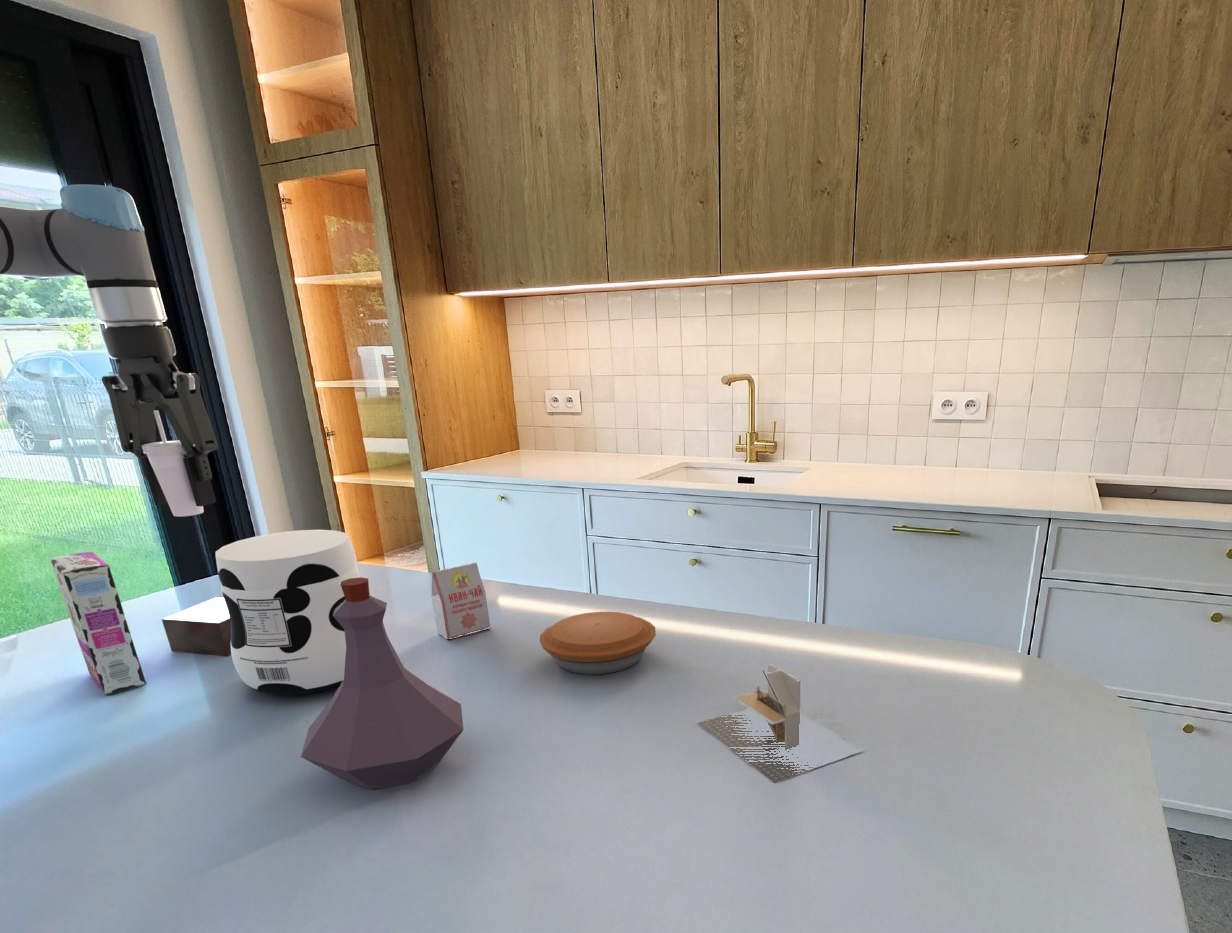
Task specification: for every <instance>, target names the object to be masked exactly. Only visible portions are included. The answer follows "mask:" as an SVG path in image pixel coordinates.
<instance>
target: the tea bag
mask: <svg viewBox="0 0 1232 933" xmlns="http://www.w3.org/2000/svg"><path fill="white" fill-rule="evenodd" d="M478 566H479V565H478V563H477V562H471V563H467V564H462V565H458V566H453V567H448V568H443V569H439V570H434V571H431V594H430V595H431V597H430V598H431V603H432V608H433V615H434V619H435V626H436V632H437V634H438V633H439V634H440V635H442V636H443V637H445V638H447V639H449V638H454V637H457V636H459V635H465V634H467V633H470V632H474V631H478V630H483V629H485V628H488V627H490V628H491V623H490V616H489V608H488V601H487V593H486V590H485V586H484V583H483V580H482V577H481V574H480V571H479V567H478ZM440 635H439V636H440ZM443 637H442V638H443Z"/></svg>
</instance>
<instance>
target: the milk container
mask: <svg viewBox="0 0 1232 933" xmlns="http://www.w3.org/2000/svg"><path fill="white" fill-rule="evenodd" d="M215 560H216V561H215V562H216V568H217V575H218V578H219V582H220V589H221V590H220V591H221V593H222V596H223V597H222V598H224V600H225V603H226V606H227V609H228V613H229V616H230V621H231V655H230V656H231V659H232V662H233V665H234V667H235V668H234V669H235V670H236V672H237V674H238V675H239V678H240V679H241V681H242V682H243V683H244V684H245V685H246V686H247V687H249V688H250V689H252V690H254V691H256V692H259V693H262V694H268V695H270V694H271V695H275V696H288V695H303V694H304V695H305V694H310V693H315V692H322V691H325V690H328V689H332V688H336V687H339V686H340V684H341V683H342V681H343V680H344V671H345V657H346V640H345V631H344V628H343V627H342V626H341V625H340V624H339V622H338V621H337V620H336V619H335V618H334V617H333V613H334V610H335V609H336V608H337V607H338V606H339V605H340V604H341V603H342V602H343V601H344V600H345V596H344V593H343V590H342V587H341V585H340V584H341V581H344V580H347V579H351V578H360V571H359V567H358V566H357V564H358V563H357V556H356V552H355V549H354V546H353V543H352V540H351V538H350V536H349V535H348V534H347V532H343V531H340V530H335V529H333V530H332V529H299V530H289V531H288V530H287V531H280V532H273V533H266V534H262V535H256V536H252V537H248V538H244V539H240V540H237V541H233V542H231V543H228V544H225V545H223V546H221V547H220V548H219V549H217V550H216V551H215Z"/></svg>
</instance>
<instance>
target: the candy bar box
mask: <svg viewBox="0 0 1232 933" xmlns="http://www.w3.org/2000/svg"><path fill="white" fill-rule="evenodd" d="M49 561H50V564H51V566H52V569H53V573H54V575H55V577H56V580H57V584H58V587H59V591H60V593H61V596H62V599H63V601H64V604H65V608H66V611H67V613H68V616H69V619H70V621H71V625H72V628H73V630H74V633H75V636H76V637H75V638H76V639H77V643H78V645H79V648H80V651H81V654H82V657H83V660H84V662H85V665H86V667H87V671H88V673H89V675H90V677H91V678H92V679H93V680H94V682H95V684H97V686H98V687H99V689H100V691H101V692H102V694H103V695H104V696H109V695H112V694H116V693H120V692H123V691H124V692H125V691H128V690H132V689H136V688H139V687H142V686H146V685H147V681H146V678H145V675H144V672H143V669H142V666H141V663H140V662H141V661H140V659H139V657H138V654H137V651H136V647H135V644H134V641H133V640H134V639H133V637H132V634H131V631H130V628H129V625H128V621H127V617H126V614H125V612H124V609H123V605H122V601H121V599H120V596H119V593H118V590H117V586H116V583H115V580H114V577H113V574H112V571H111V567H110V565H109V564H108V563H107V562H106V561H104V560H103V559H102V558H100V556H98V555H97V554H95V552H93V551H85V552H77V553H72V554H64V555H60V556H54V557H50V558H49Z"/></svg>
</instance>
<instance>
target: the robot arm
mask: <svg viewBox="0 0 1232 933" xmlns="http://www.w3.org/2000/svg"><path fill="white" fill-rule="evenodd" d="M59 197H60V200H61V203H60V206H61V208H53V209H22V208H15V207H7V206H0V276H7V277H11V278H15V279H23V280H39V281H47V280H50V279H56V278H57V279H58V278H59V279H60V278H69V277H70V278H71V277H84V279H85V283H86V287H87V288H88V289H87V290H88V293H89V297H90V300H91V303H92V307H93V311H94V314H95V317H96V321H97V322H99V323H100V324H104V327H105V328H104V327H103V328H102V330H101V331H100V332H101V335H102V339H103V342H104V346H105V349H106V352H107V355H108V357H109V358H111V359H113V360H116V362H117V373H115V374H113V375H103V376H102V377H101V382H102V384H103V386H104V388H105V390H106V392H107V394H108V397H109V400H110V406H111V409H112V413H113V414H112V415H113V417H114V422H115V426H116V429H117V430H116V431H117V434H118V438H119V442H120V447H121V450H122V451H123V452H124V453H131V454H134V456H135V457H136V458H138V461H139V464H140V467H141V471H142V474H143V477H144V478H145V480H146V481H147V482H148V486H149V490H150V493H151V496H152V499H153V502H154V505H155V506H163V505H167V504H168V502H167V500H166V497H165V495H164V493H163V491H162V488H161V486H160V484H159V481H158V479H157V477H156V475H155V472H154V470H153V468H152V466H151V463H150V461H149V459H148V456H147V454H145V453H143V449H142V445H144V444H149V443H155V442H157V437H156V435H157V434H156V418H155V415H154V410H156V408H157V407H158V408H159V409H161V410H162V411H163V413H164V415H165V416H166V418H167V420H168V422H169V424H170V425H171V427H172V429H173V431H174V433H175V435H176V437H177V439H178V440H180V442H181V444H182V446H183V448H184V449H185V451H186V454H184V455H183V457H185V458H183V461H184V464H185V468H186V471H187V475H188V478H189V482H190V485H191V489H192V492H193V496H194V500H195V503H196V506H203V507H204V506H209V505H211V504H212V505H213V504H215V503H217V500H216V496H215V491H214V489H213V485H212V481H211V480H212V479H213V473H212V471H211V466H210V463H209V459H208V454H209V453H211V452H213V451H216V450H218V448H219V445H218V442H217V439H216V435H215V433H214V430H213V426H212V424H211V421H210V417H209V414H208V411H207V409H206V405H205V403H204V402H205V401H204V400H203V396H202V394H201V384H200V376H199V375H198V374H197V373H195V372H190V373H185V372H183V371H179V368H178V367H177V365H176V364H175V362H174V360H173V358H174V357H175V356H176V354H177V350H176V346H175V342H174V338H173V335H172V332H171V329H170V328H168V326H164V323H163V322H166V321H167V320H168V317H167V314H166V311H165V306H164V303H163V299H162V296H161V291H160V289H159V284H158V282H157V279H156V275H155V271H154V268H153V264H152V263H153V262H152V260H151V256H150V250H149V246H148V241H147V238H146V234H145V227H144V225H143V224H142V220H141V217H140V215H139V212H138V209H137V206H136V203H135V200H134V198H133V196H132V195H131V194H130V193H129V192H127V191H126V190H124V189H123V188H119V187H115V186H110V185H102V184H80V183H78V184H69V185H65V186H63V187H61V188H60V189H59ZM193 444H195V446H193Z"/></svg>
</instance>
